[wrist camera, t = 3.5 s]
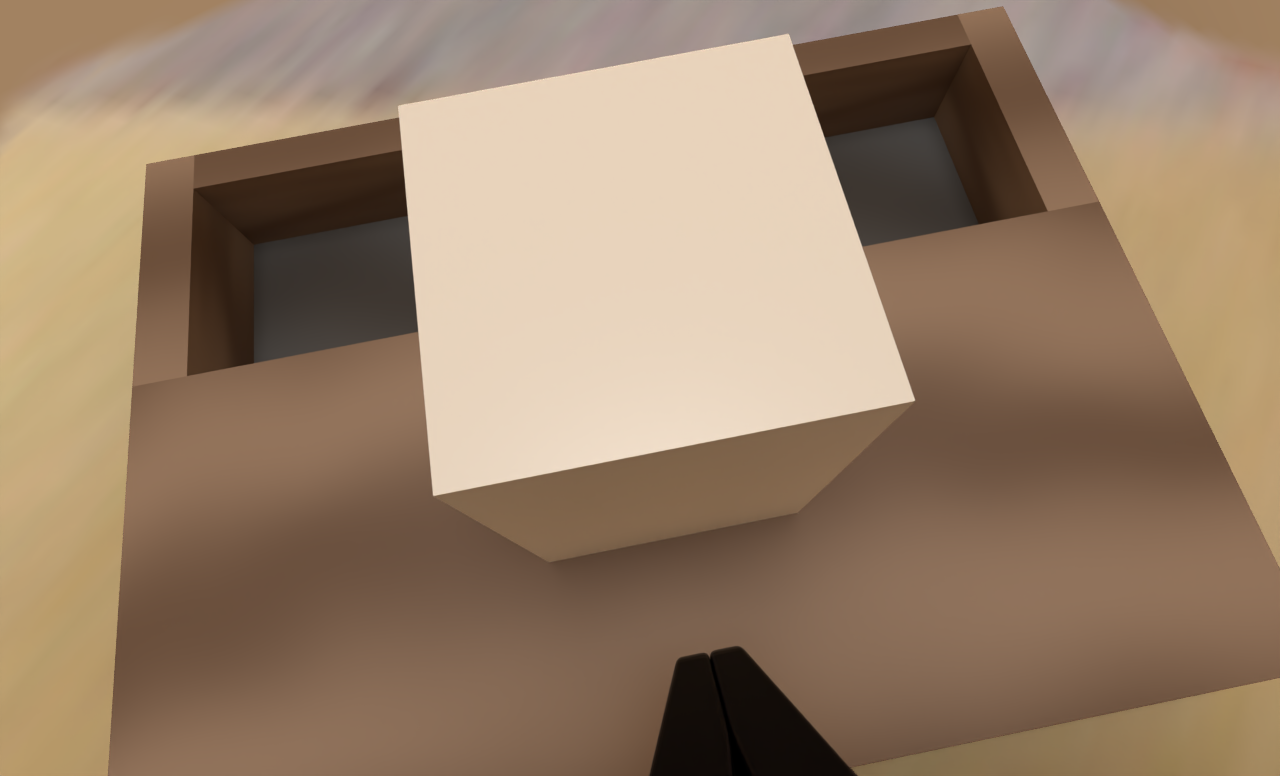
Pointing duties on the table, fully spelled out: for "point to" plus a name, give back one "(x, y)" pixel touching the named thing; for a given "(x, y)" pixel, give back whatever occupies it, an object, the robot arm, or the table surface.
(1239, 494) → the brown compartment tray
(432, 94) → the table surface
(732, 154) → the block
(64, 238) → the table surface
